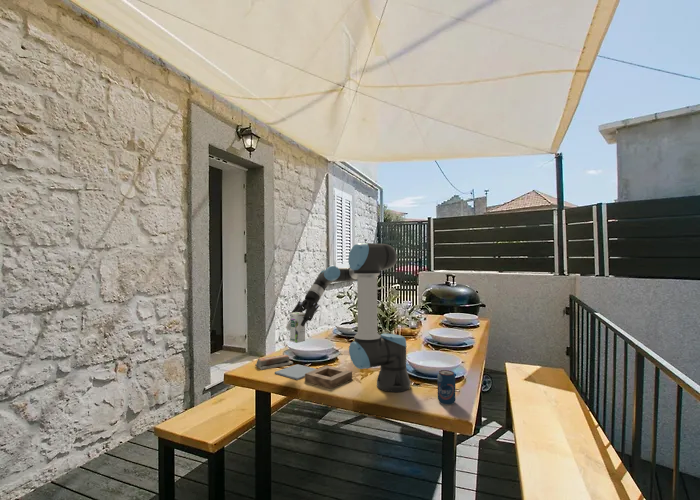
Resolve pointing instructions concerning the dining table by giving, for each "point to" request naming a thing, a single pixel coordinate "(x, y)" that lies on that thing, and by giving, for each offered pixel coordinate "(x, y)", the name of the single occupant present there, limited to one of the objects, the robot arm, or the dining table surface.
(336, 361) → the dining table surface
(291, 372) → the slate pad
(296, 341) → the syrup box
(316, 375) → the walnut holder
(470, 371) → the dining table surface
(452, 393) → the soda can
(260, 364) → the packaged product
